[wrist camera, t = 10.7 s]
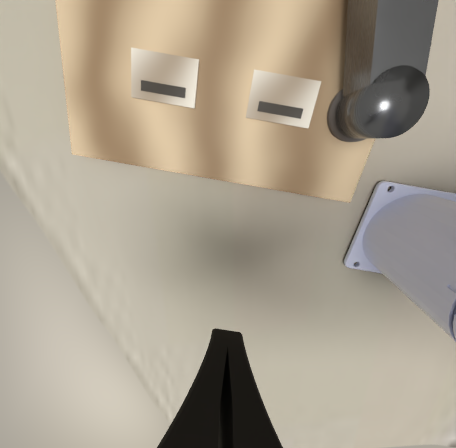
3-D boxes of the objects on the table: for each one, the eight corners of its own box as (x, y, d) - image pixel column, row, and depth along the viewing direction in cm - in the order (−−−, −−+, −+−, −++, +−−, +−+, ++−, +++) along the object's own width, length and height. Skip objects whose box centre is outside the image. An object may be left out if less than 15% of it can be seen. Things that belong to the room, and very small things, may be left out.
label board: (468, -133, 11) (509, -182, 9) (343, 198, 18) (353, 204, 16) (50, -211, 11) (15, -275, 9) (82, 153, 17) (66, 154, 16)
